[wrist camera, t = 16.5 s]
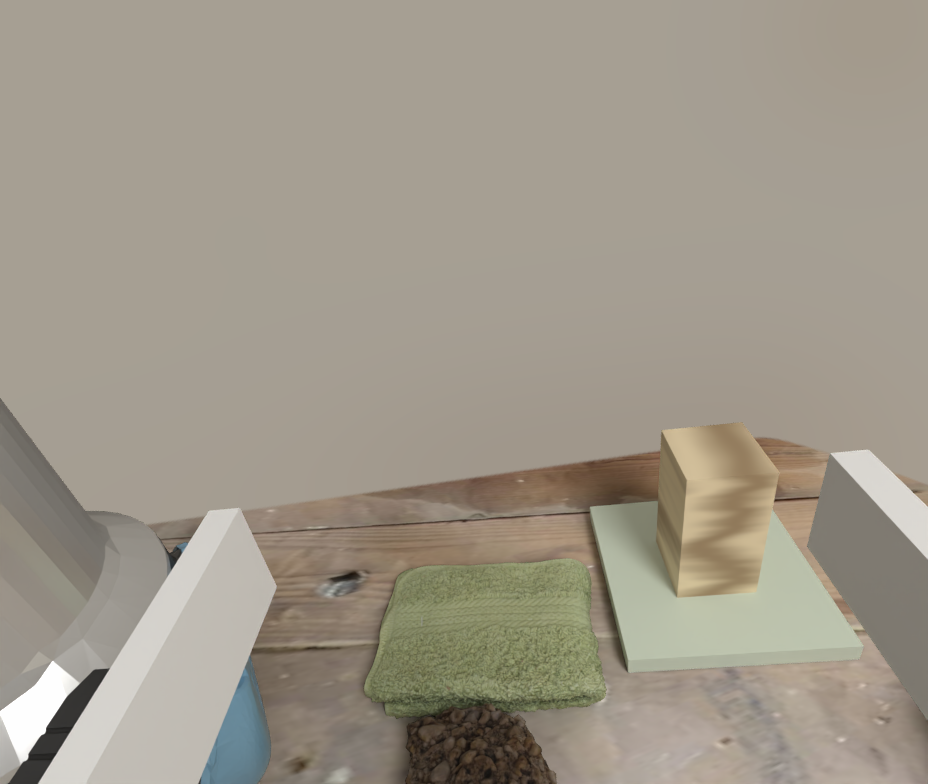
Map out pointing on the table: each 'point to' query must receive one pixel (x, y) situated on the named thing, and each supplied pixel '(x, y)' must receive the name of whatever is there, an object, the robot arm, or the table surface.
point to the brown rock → (475, 749)
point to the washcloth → (488, 640)
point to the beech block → (713, 508)
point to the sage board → (714, 604)
